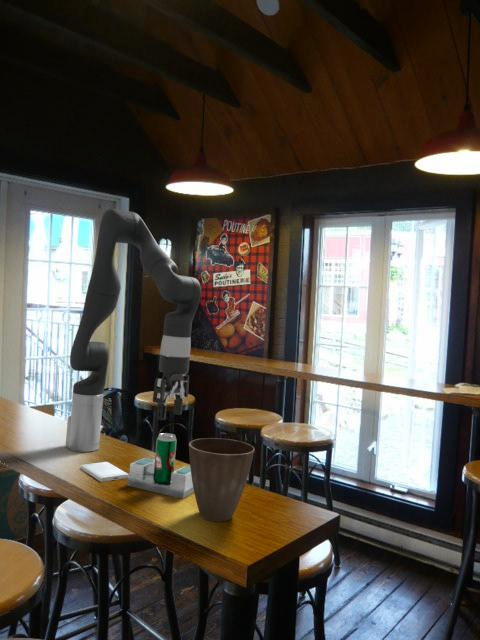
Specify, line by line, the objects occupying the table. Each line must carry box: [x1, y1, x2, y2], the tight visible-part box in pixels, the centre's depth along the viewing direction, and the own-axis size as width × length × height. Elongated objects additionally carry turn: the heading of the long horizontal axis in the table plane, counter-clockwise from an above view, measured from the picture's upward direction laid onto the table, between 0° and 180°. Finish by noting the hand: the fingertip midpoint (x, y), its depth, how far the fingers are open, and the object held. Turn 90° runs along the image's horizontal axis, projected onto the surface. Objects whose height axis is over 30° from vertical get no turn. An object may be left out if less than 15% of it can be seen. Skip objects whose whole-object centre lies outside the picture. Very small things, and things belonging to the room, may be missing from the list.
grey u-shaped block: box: [127, 457, 194, 500], centre depth 140 cm, size 16×8×6 cm, turn 68°
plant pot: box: [188, 437, 255, 522], centre depth 124 cm, size 15×15×16 cm
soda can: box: [153, 432, 178, 484], centre depth 140 cm, size 5×5×12 cm
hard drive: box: [80, 461, 129, 483], centre depth 148 cm, size 2×8×12 cm
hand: (169, 416), depth 140 cm, fingers open, 8 cm apart
